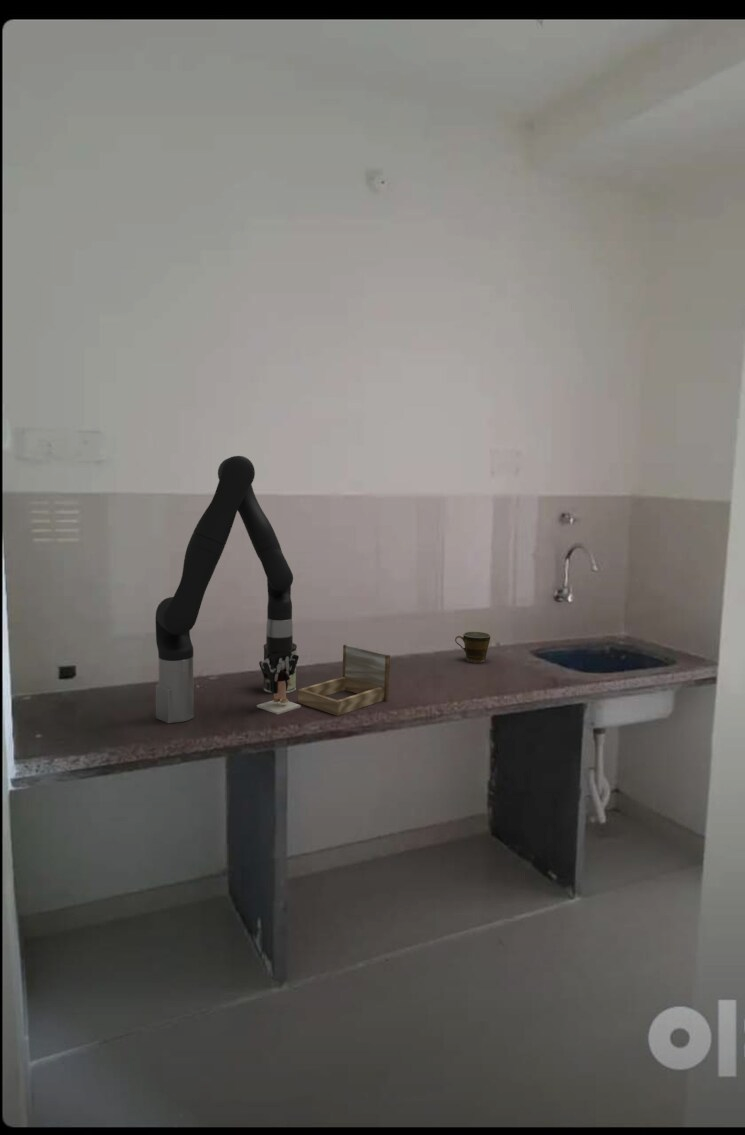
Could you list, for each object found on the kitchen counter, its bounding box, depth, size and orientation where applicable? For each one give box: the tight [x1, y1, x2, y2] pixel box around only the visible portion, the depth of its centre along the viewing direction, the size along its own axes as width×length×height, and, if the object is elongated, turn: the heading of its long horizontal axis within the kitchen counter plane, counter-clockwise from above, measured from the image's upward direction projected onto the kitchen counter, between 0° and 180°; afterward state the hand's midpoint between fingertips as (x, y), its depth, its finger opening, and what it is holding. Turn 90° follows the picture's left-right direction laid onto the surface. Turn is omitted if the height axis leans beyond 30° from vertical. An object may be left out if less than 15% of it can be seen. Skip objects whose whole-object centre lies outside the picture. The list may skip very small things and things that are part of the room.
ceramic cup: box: [454, 631, 491, 664], centre depth 272 cm, size 13×10×10 cm
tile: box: [256, 699, 302, 715], centre depth 214 cm, size 9×9×1 cm
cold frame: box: [297, 643, 391, 717], centre depth 221 cm, size 21×18×14 cm
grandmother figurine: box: [267, 661, 292, 703], centre depth 213 cm, size 8×4×13 cm, turn 84°
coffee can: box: [262, 643, 298, 694], centre depth 231 cm, size 10×10×14 cm
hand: (279, 691), depth 214 cm, fingers closed on grandmother figurine, 3 cm apart
